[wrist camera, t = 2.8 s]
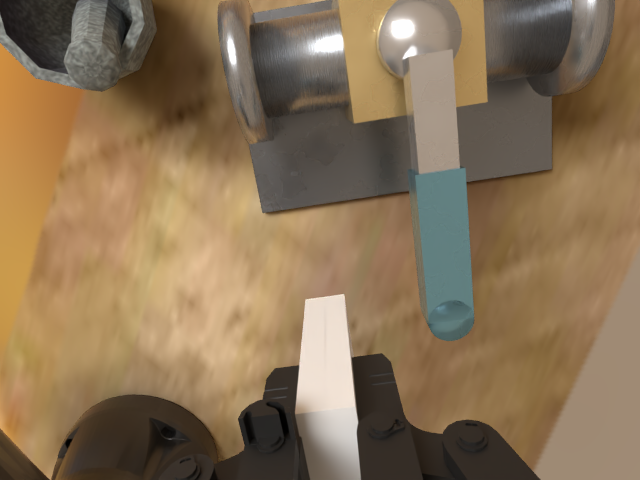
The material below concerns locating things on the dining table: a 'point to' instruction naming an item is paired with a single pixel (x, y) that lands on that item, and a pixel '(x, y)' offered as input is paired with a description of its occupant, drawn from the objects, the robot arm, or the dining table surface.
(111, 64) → the mortar and pestle
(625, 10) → the dining table surface
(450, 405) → the dining table surface
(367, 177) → the valve body
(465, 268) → the lever
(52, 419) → the dining table surface
